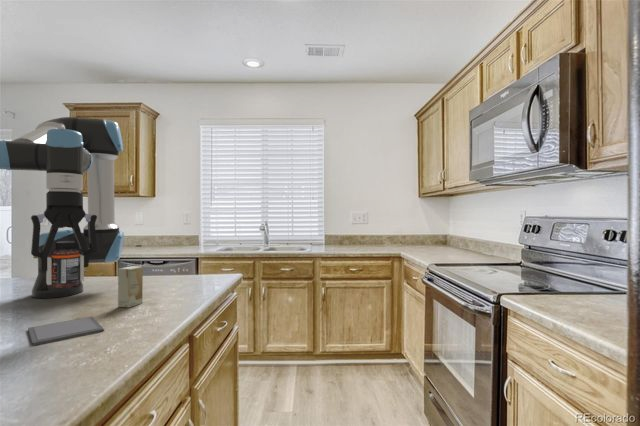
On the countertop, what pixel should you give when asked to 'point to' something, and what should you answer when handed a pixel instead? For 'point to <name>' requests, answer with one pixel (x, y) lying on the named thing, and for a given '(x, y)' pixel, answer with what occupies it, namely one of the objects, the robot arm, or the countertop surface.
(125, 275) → the skincare box
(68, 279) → the supplement bottle
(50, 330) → the coaster
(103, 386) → the countertop surface
